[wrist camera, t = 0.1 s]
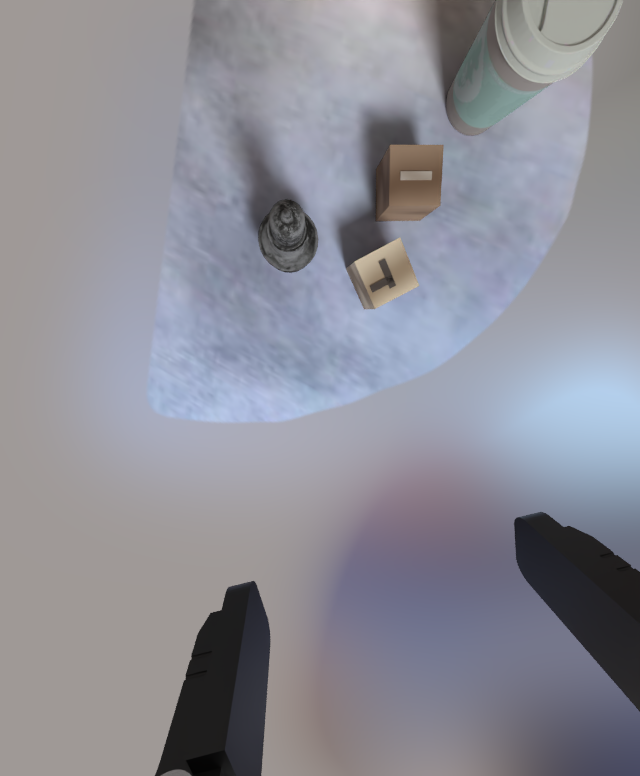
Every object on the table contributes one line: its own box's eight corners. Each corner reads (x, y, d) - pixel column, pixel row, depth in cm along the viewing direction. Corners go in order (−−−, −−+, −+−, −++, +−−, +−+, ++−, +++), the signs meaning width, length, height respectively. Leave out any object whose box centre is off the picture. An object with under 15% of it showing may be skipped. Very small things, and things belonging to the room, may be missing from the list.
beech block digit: (345, 268, 35) (354, 261, 30) (385, 248, 35) (400, 237, 30) (364, 309, 36) (375, 308, 31) (402, 289, 36) (419, 285, 31)
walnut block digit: (375, 169, 33) (390, 144, 28) (421, 169, 33) (444, 144, 28) (375, 221, 34) (389, 205, 29) (419, 220, 34) (440, 205, 29)
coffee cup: (467, 32, 30) (575, -142, 19) (528, 92, 32) (661, -33, 20) (416, 115, 32) (487, 1, 20) (477, 169, 33) (575, 92, 22)
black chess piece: (253, 258, 34) (231, 230, 22) (276, 206, 33) (266, 148, 21) (301, 285, 35) (304, 271, 23) (324, 235, 34) (341, 194, 22)
